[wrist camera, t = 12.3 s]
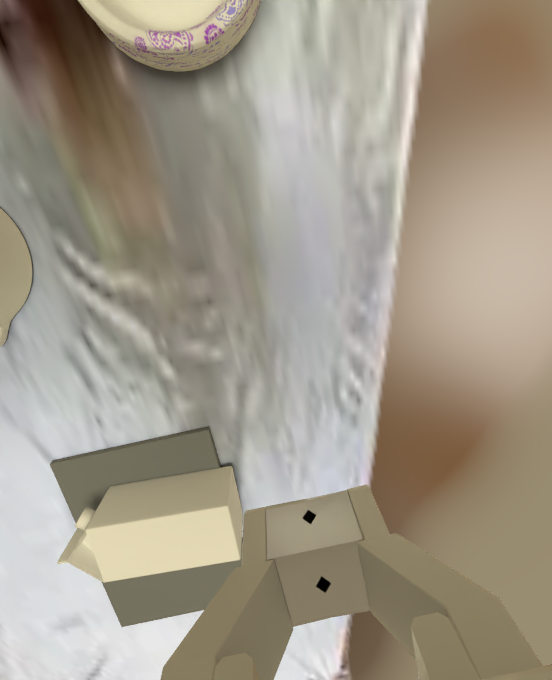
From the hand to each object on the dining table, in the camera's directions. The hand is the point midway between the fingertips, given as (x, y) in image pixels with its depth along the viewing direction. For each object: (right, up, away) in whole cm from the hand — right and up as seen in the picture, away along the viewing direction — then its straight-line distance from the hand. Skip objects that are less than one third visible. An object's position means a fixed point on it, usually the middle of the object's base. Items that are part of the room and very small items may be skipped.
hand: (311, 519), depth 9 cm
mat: (-15, -20, +41) cm, 48 cm away
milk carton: (-5, -15, +35) cm, 38 cm away
